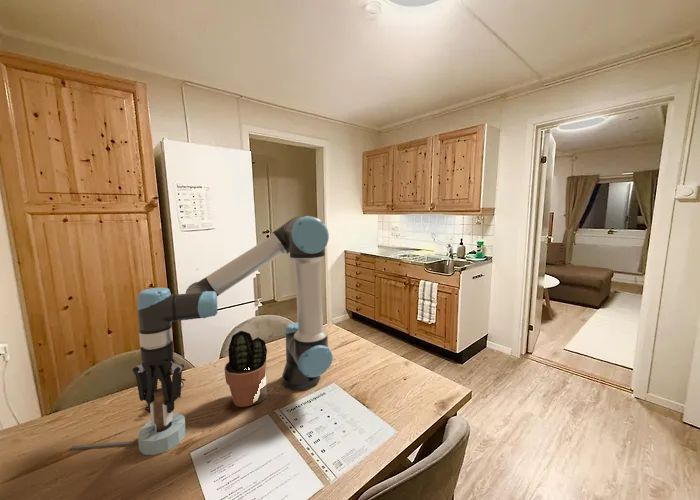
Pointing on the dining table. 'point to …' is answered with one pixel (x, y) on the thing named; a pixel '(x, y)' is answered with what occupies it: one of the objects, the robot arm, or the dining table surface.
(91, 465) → the dining table surface
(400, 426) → the dining table surface
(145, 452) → the bead
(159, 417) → the dowel
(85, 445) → the thin grey rod
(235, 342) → the potted plant
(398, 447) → the dining table surface
